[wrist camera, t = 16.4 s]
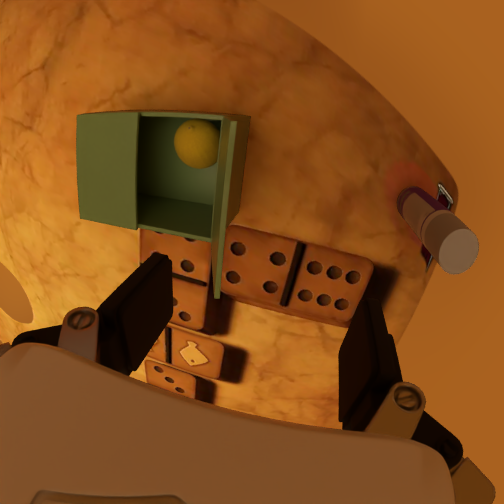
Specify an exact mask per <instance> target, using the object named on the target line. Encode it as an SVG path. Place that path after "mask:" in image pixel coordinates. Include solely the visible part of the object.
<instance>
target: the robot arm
mask: <svg viewBox="0 0 504 504" xmlns="http://www.w3.org/2000/svg"><path fill="white" fill-rule="evenodd" d="M172 315H173V288H172V261H171V260H170V259H169V258H168V256H167V255H164V254H159V253H153V254H152V255H151V256H150V257H149V258H148V259H147V260H146V261H145V262H144V263H143V264H142V265H140V266H139V267H138V268H137V269H136V270H135V271H134V272H133V273H132V274H131V275H130V276H129V277H128V278H127V279H126V280H125V281H124V282H123V283H122V284H121V285H120V286H119V287H118V288H117V289H116V290H115V291H114V292H113V293H112V294H111V295H110V296H109V297H108V298H107V299H106V300H105V301H104V302H103V303H102V304H101V305H100V307H99V308H98V309H97V310H94V309H92V308H89V307H78V308H75V309H73V310H71V311H69V312H68V313H67V314H66V315H65V317H64V319H63V324H62V325H58V326H52V327H47V328H42V329H37V330H32V331H27V332H24V333H21V334H20V335H18V336H17V337H16V338H15V339H14V341H13V342H12V345H10V343H9V342H7V343H4V344H1V345H0V504H492V503H493V501H494V498H495V488H494V486H493V484H492V483H491V482H490V480H489V479H488V478H487V477H486V476H485V475H484V474H483V473H482V472H481V471H480V470H479V469H478V468H477V466H476V465H475V464H474V463H473V462H472V461H471V460H470V459H469V458H468V457H467V458H465V459H464V458H463V457H462V456H463V448H462V444H461V443H460V441H459V440H458V439H457V438H456V437H455V436H454V435H453V434H452V433H451V432H449V431H448V430H447V429H446V428H444V427H443V426H442V425H441V424H440V423H438V422H437V421H436V420H435V419H434V418H432V417H431V416H430V415H429V414H427V413H426V412H425V411H424V408H425V404H426V399H425V396H424V394H423V392H422V391H421V390H420V389H419V388H418V387H417V386H416V385H414V384H412V383H409V382H403V380H402V375H401V370H400V366H399V361H398V356H397V352H396V348H395V343H394V339H393V336H392V335H391V334H388V331H387V327H386V323H385V319H384V315H383V311H382V307H381V303H380V301H379V300H377V299H372V298H365V299H364V301H363V300H360V301H359V304H358V306H357V309H356V311H355V314H354V316H353V319H352V321H351V324H350V326H349V328H348V331H347V333H346V336H345V338H344V340H343V343H342V345H341V347H340V350H339V356H338V359H339V422H343V426H342V430H340V429H332V428H325V427H317V426H310V425H304V424H297V423H292V422H286V421H281V420H275V419H270V418H265V417H261V416H256V415H252V414H247V413H243V412H239V411H235V410H231V409H227V408H223V407H219V406H216V405H212V404H209V403H205V402H202V401H198V400H195V399H192V398H189V397H185V396H182V395H179V394H176V393H173V392H170V391H167V390H164V389H161V388H158V387H156V386H153V385H150V384H147V383H145V382H142V381H140V380H137V379H134V378H132V377H129V375H130V374H131V372H132V371H136V370H137V369H138V368H139V366H140V364H141V363H142V361H143V360H144V358H145V357H146V355H147V354H148V352H149V351H150V349H151V348H152V346H153V345H154V343H155V342H156V340H157V339H158V337H159V336H160V334H161V333H162V331H163V330H164V328H165V327H166V325H167V324H168V322H169V321H170V319H171V317H172Z"/></svg>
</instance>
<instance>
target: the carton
mask: <svg viewBox="0 0 504 504" xmlns="http://www.w3.org/2000/svg"><path fill="white" fill-rule="evenodd" d="M223 116H227V117H229V118H231V119H233V120H235V121H237V128H236V137H235V145H234V154H233V163H232V172H231V181H230V190H229V200H228V210H227V220H226V228H227V227H228V225H229V224H230V223H231V221H232V220H233V219H234V218H235V216H236V215H237V214H238V212H239V207H240V198H241V190H242V181H243V173H244V165H245V157H246V149H247V141H248V133H249V125H250V118H251V116H245V115H236V114H226V113H214V112H200V111H181V110H120V111H106V112H95V113H85V114H81V115H77V131H76V159H77V185H78V200H79V212H80V219H85V220H90V221H95V222H99V223H104V224H109V225H114V226H118V227H123V228H128V229H133V230H137V229H138V228H142V229H147V230H152V231H157V232H162V233H167V234H172V235H177V236H182V237H186V238H191V239H196V240H201V241H206V242H211V241H212V227H213V214H214V202H215V191H216V180H217V169H218V159H219V149H220V140H221V131H222V122H223ZM194 118H199V119H205V120H208V121H209V122H211V123H212V124H214V125H215V126H216V128H217V129H218V130H219V131H220V139H219V149H218V159H217V162H216V163H215V164H214V165H212V166H210V167H208V168H204V169H196V168H192V167H190V166H188V165H186V164H185V163H184V162H183V161H182V160H181V159H180V158H179V157H178V155H177V153H176V150H175V146H174V137H175V133H176V131H177V129H178V128H179V126H181V125H182V124H183V123H184V122H186V121H187V120H190V119H194Z"/></svg>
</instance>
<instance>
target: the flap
mask: <svg viewBox="0 0 504 504" xmlns="http://www.w3.org/2000/svg"><path fill="white" fill-rule="evenodd" d="M236 128H237V121H235V120H233V119H231V118H229V117H227V116H223V122H222V131H221V140H220V149H219V159H218V169H217V180H216V191H215V202H214V214H213V227H212V241H211V252H212V269H213V285H214V298H220V287H221V275H222V263H223V252H224V241H225V230H226V220H227V210H228V200H229V190H230V181H231V172H232V163H233V154H234V145H235V137H236Z"/></svg>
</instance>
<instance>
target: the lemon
mask: <svg viewBox="0 0 504 504" xmlns="http://www.w3.org/2000/svg"><path fill="white" fill-rule="evenodd" d="M219 139H220V131H219V130H218V129H217V128H216V126H215V125H214V124H212V123H211V122H209V121H208V120H205V119H199V118H194V119H190V120H187V121H186V122H184V123H183V124H182V125H181V126H179V128H178V129H177V131H176V133H175V137H174V146H175V150H176V153H177V155H178V157H179V158H180V159H181V160H182V161H183V162H184V163H185V164H186V165H188V166H190V167H192V168H196V169H204V168H208V167H210V166H212V165H214V164H215V163H216V162H217V159H218V149H219Z"/></svg>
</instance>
